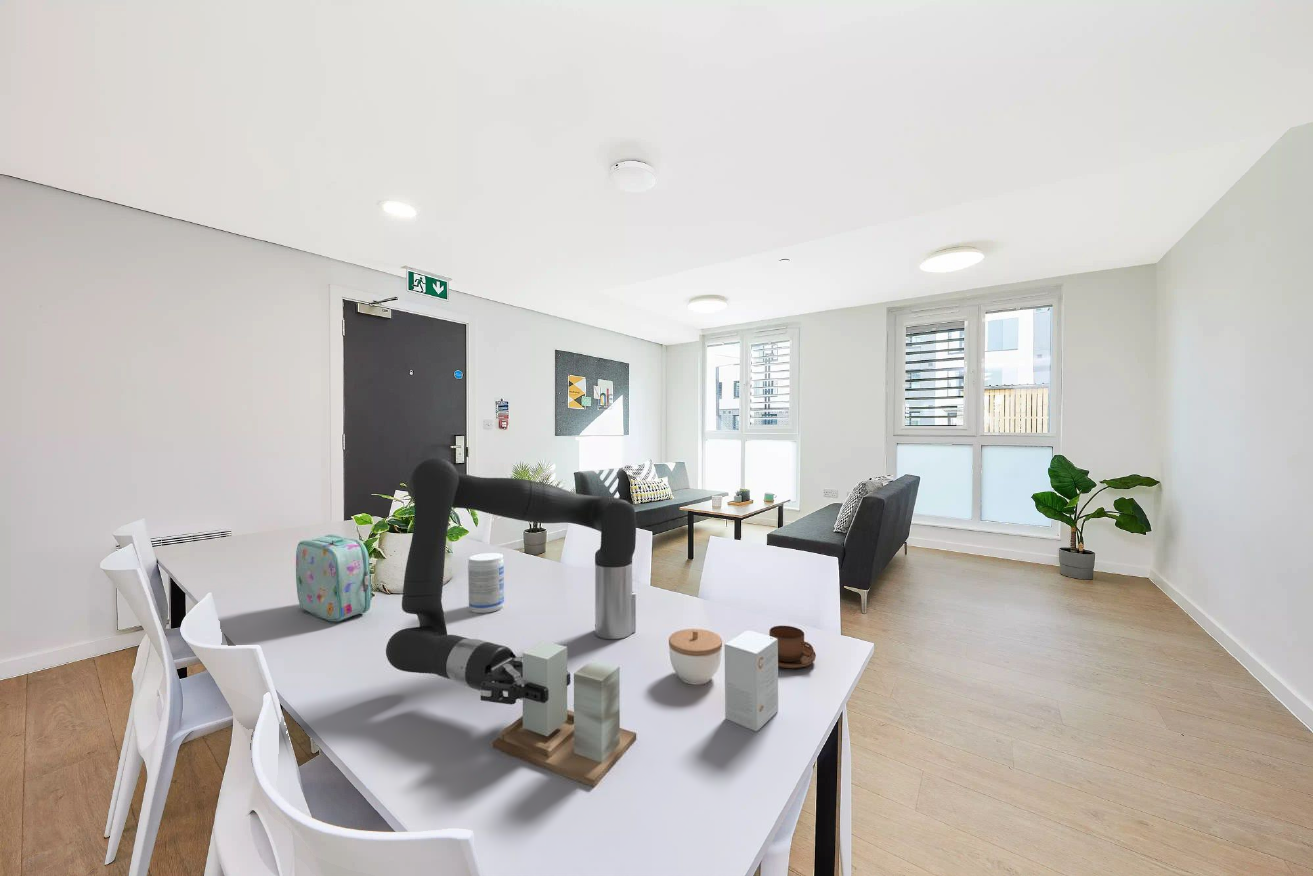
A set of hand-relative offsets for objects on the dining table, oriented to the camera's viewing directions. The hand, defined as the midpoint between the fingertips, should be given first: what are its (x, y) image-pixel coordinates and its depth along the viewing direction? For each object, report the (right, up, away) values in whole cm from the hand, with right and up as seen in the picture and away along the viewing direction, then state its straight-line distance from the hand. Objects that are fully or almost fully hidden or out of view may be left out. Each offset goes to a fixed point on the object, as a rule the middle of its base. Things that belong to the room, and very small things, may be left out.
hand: (558, 687), depth 78 cm
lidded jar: (+24, -9, +21) cm, 33 cm away
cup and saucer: (+44, -9, +28) cm, 53 cm away
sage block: (-2, -6, +1) cm, 7 cm away
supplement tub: (-32, -9, +60) cm, 69 cm away
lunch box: (-74, -9, +57) cm, 94 cm away
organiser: (+2, -9, -1) cm, 9 cm away
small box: (+32, -9, +7) cm, 34 cm away
